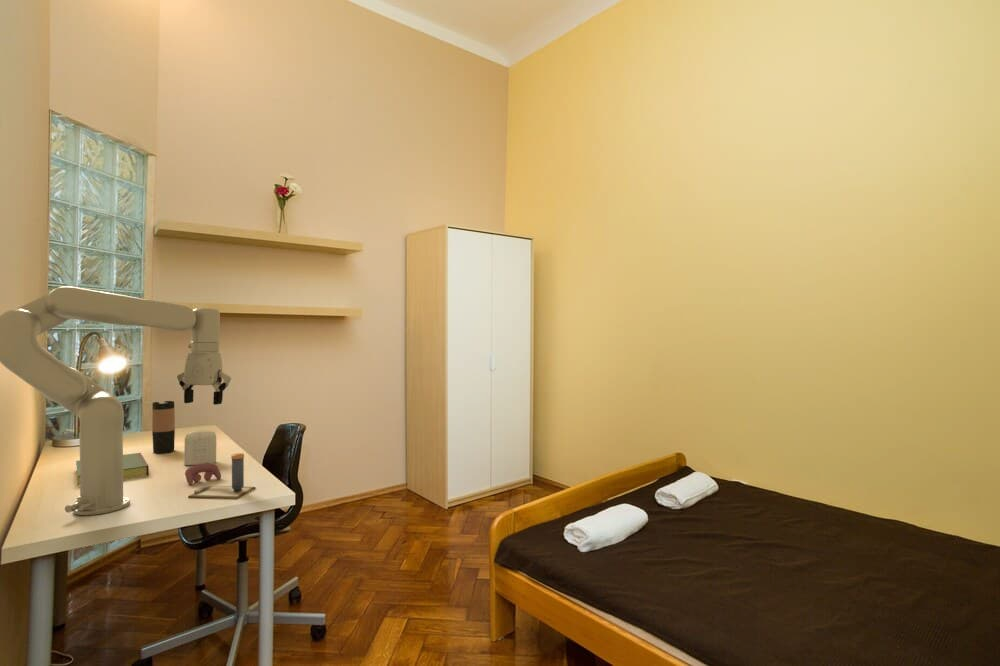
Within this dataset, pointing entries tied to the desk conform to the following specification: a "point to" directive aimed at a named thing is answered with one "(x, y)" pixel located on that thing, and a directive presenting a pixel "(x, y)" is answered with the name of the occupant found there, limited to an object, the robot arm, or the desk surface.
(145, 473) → the hardcover book
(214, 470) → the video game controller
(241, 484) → the marker
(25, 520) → the desk surface
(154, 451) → the travel mug
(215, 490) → the clipboard
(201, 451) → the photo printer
